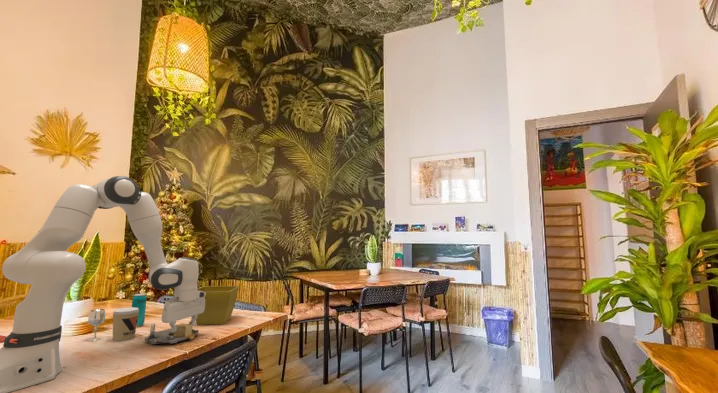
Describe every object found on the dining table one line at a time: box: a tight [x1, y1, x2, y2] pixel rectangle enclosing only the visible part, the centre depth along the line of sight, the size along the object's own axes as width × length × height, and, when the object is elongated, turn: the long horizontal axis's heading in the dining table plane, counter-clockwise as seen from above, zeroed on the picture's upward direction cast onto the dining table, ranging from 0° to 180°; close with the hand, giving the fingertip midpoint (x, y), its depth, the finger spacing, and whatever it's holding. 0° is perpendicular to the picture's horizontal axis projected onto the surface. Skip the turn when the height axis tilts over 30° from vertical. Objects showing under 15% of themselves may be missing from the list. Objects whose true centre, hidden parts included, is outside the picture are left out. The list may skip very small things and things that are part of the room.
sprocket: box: [144, 323, 199, 345], centre depth 141 cm, size 20×20×6 cm
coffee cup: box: [112, 306, 139, 342], centre depth 142 cm, size 9×9×12 cm
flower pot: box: [195, 285, 240, 326], centre depth 170 cm, size 19×19×17 cm
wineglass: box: [87, 308, 106, 342], centre depth 140 cm, size 6×6×12 cm
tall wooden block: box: [174, 322, 193, 336], centre depth 140 cm, size 4×6×4 cm, turn 73°
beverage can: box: [131, 293, 147, 328], centre depth 161 cm, size 6×6×15 cm
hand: (183, 328), depth 140 cm, fingers open, 8 cm apart
